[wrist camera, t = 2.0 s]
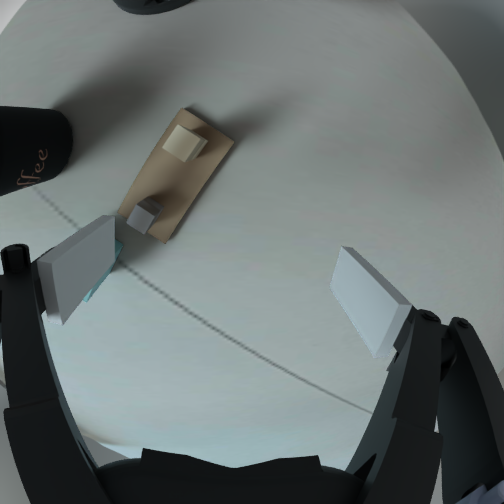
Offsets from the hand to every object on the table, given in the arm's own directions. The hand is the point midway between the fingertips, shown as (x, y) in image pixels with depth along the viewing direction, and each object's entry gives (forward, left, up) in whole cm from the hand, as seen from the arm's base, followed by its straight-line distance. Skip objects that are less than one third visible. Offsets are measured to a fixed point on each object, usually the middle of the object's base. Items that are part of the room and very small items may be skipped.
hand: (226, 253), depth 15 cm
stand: (-7, -2, -22) cm, 23 cm away
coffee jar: (-27, -8, -22) cm, 36 cm away
